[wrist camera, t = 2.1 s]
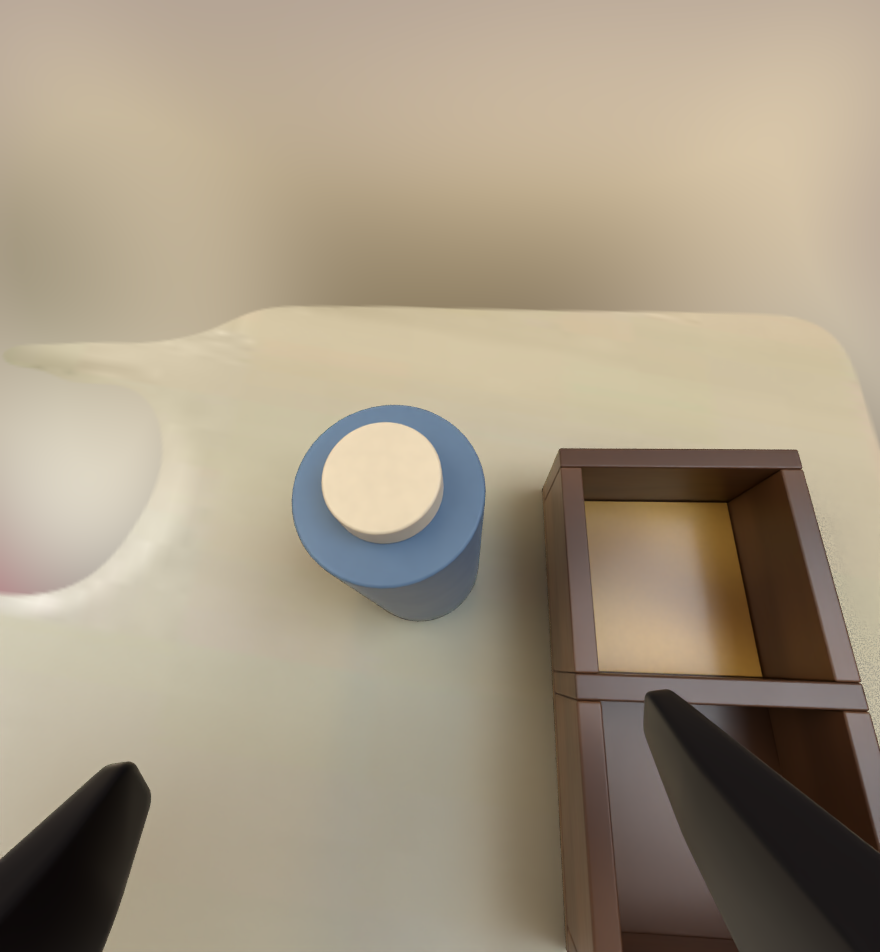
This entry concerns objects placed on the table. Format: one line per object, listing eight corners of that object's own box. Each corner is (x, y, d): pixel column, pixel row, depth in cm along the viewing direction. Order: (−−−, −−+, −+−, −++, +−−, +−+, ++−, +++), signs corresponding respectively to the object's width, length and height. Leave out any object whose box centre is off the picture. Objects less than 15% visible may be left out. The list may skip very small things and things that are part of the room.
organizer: (837, 969, 15) (972, 1082, 11) (565, 949, 16) (599, 1050, 12) (734, 490, 22) (798, 448, 18) (542, 488, 22) (559, 447, 18)
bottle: (478, 622, 20) (487, 584, 10) (358, 619, 20) (259, 579, 11) (478, 507, 22) (486, 383, 12) (369, 506, 22) (292, 384, 13)
